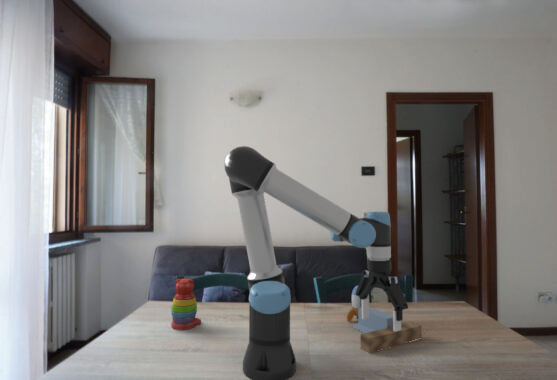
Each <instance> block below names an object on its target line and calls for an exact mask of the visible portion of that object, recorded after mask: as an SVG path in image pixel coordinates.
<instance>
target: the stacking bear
mask: <svg viewBox="0 0 557 380" xmlns="http://www.w3.org/2000/svg"><path fill="white" fill-rule="evenodd" d="M194 287H195V282H194V280H193V278H190V279H189V278H177V279H176V285H175V290H176V294H174V297H173V301H172V304H171V311H170V312H171V318H172V321H171V324H170V325H171V328H172V329H173V330H176V331H186V330H191V329H194V328H196V327H198V326H200V324H201V323H202V320H201V318H199V317H197V312H198V304H197V300H196V296H195V294H194V293H193V291H194Z"/></svg>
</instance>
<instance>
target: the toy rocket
mask: <svg viewBox="0 0 557 380" xmlns="http://www.w3.org/2000/svg"><path fill="white" fill-rule="evenodd" d="M357 288H358V285H355V287H354V288H353V289H352V292H351V306H352V307H351V309H350V310H349V311H348V312H347V314H346V321H347V322H348V321H350V322H351V321H352V320H353V319H354V316H355V317H356V319H357V320H358V308H361V306H360V305H361V304H360V298H359V296H356V291H357ZM366 299H367V298H366ZM368 299H369V300H370V294H369V295H368Z"/></svg>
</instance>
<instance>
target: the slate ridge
mask: <svg viewBox="0 0 557 380" xmlns="http://www.w3.org/2000/svg"><path fill="white" fill-rule="evenodd" d="M357 320H358V321H357V322H356V323H353V326H352V327H353V329H354V328H355V329H354V330H356V329H357V331H358V330H360V331H359V332H361V331H362V332H361V333H363V332H364V333H368V332H372V331H377V330H381V329H385V328H390V327H393V314H390V313H387V312H385V311H383V310H380V309H377V308H373V307H370V306H369V318H367V319H362V308H358V319H357ZM364 333H363V334H364Z"/></svg>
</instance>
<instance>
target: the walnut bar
mask: <svg viewBox="0 0 557 380" xmlns="http://www.w3.org/2000/svg"><path fill="white" fill-rule="evenodd" d="M419 338H423V337H422V325H421V324H418V323H415V322H412V321H411V322H408V323H404V324H403V323H401V330H400V331H396V332H395V331H393V327H390V328H385V329H381V330H377V331H372V332H368V333H360V350H361V349H362V350H361V351H363V350H364V352H365V351H366V353H367V352H368V354H369V353H370V354H373V353H372V352H374V353H376V352H375V351H378V350H381V349H385V348H389V347H392V348H394V347H393V346H396V345H400V344H403V343H406V342H409V341H412V340H415V339H419ZM403 345H404V344H403ZM400 346H401V345H400ZM396 347H397V346H396ZM389 349H390V348H389ZM385 350H386V349H385ZM381 351H382V350H381ZM378 352H379V351H378Z"/></svg>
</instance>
